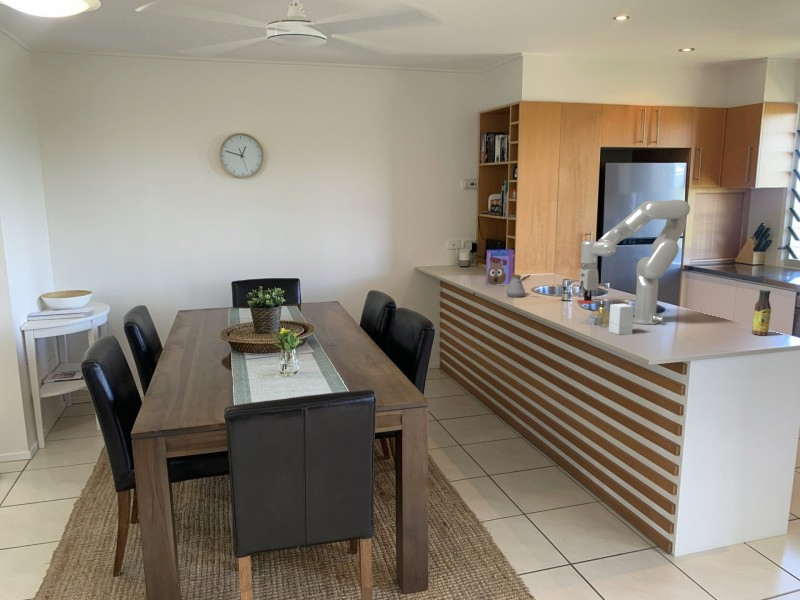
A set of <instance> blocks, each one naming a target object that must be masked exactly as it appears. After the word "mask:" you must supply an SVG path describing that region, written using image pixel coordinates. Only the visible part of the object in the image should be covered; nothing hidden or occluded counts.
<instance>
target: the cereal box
mask: <svg viewBox="0 0 800 600" xmlns="http://www.w3.org/2000/svg"><path fill="white" fill-rule="evenodd" d="M514 254H515V253H514V249H512V248H510V249H507V248H506V249H503V248H501V249H486V274H485V285H486V284H487V285H486V286H488V285H497V284H509V283H510V281H511V279H512V278H511V275H514V257H515V256H514Z"/></svg>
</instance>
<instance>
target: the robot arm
mask: <svg viewBox="0 0 800 600" xmlns="http://www.w3.org/2000/svg"><path fill="white" fill-rule="evenodd" d="M690 211H691V206H690V204H689V202H687V201H685V200H683V199H671V200H653V199H652V200H646V201H643V202H642V203H641V204H640V205H639V206H638V207H636V208H635V209H634V210H633V211H632V212H631V213H630V214H629V215H627V216H625V218H624V219H623V220H622V221H620V222H619V223H618V224H616V225H615V226H614V227H612V228H611V229H610V230H608V231H607V232H606V233H605V234H604V235H603V236H602V237H600V238H599V239H598V240H597V241H596V240H583V241H582V242H581V246H580V247H581V250H580V271H579V272H580V273H579V281H578V289H579V290H580V294H582V295H583V300H592V299H593V297H592V296H593V294H594V292H595V291H596V290H598V289H599V271H598V256H599V257H611V256H613V255H614V254H615V253H616V250H617V247H616V246H617V245H618V244H619V243H620V242H622V241H623V240H625V239H627V238H629V237H632V236H634V235H635V234H637V233H638V232H639V231H640V230H642V228H644V227H645V226H646V225H647V224H648V223H650V222H651V221H652V220H666V222H665V225H664V227H663V228H662V230H661V231H660V233H659V234H658V236H657V238H656V239H655V240H654V242H652V244H651V252H652V254H651V256H644V257H642V258H640V259H639V260H638V262H637V264H636V269H635V270H636V289H635V290H636V291H635V302H634V303H635V306H634V316H633V323H635V324H637V325H638V324H640V325H657V324H659V323H660V322H664V317H663V316H660V315H659V313H657V305H658V292H659V279H660V278H662V277H663V276H664V275H665V273H666V272H667V270H668V269H669V268H670V266H671V265H672V264H673V262H674V261H675V260H676V258H677V256H678V253H679V249H680V247H679V244H678V241H679V240H680V239H681V236H682V235H683V233H684V232H685V229H686V224H687V223H686V222H687V220H686V217H687V216H689V214H690ZM592 301H593V300H592Z"/></svg>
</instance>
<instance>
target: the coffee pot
mask: <svg viewBox="0 0 800 600" xmlns="http://www.w3.org/2000/svg"><path fill="white" fill-rule="evenodd" d="M521 277H522V275H521V274H513V275H511V278H512V279H511V281H510V283H509V285H507V287H506V290H505V293H506V295H507V296H508V297H510V298H522V297H523V296H524V295H525V294H526V291H525V288H524V286H523V283H522V281H523V280H525V279H527V278H528V279H532V277H533V276H532V275H531V274H529V275H526V276H524V277H522V278H521Z"/></svg>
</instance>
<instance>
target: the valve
mask: <svg viewBox="0 0 800 600" xmlns="http://www.w3.org/2000/svg"><path fill="white" fill-rule="evenodd" d="M606 309H607V307H605V306H604V307H601V306H598V310H593V314H589V316H588V318H587V320H585V321H580V322H578V324H579V325H585V326H591V327H596V328H602V329H603V328H605V327H606V328H607V327H609V318H610V310H606Z"/></svg>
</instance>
